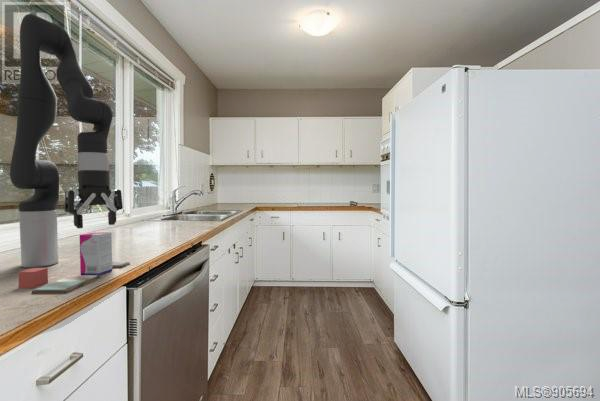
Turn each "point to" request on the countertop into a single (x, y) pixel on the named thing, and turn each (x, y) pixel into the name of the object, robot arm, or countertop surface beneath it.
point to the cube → (33, 277)
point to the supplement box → (95, 253)
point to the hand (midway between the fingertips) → (96, 226)
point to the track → (73, 281)
